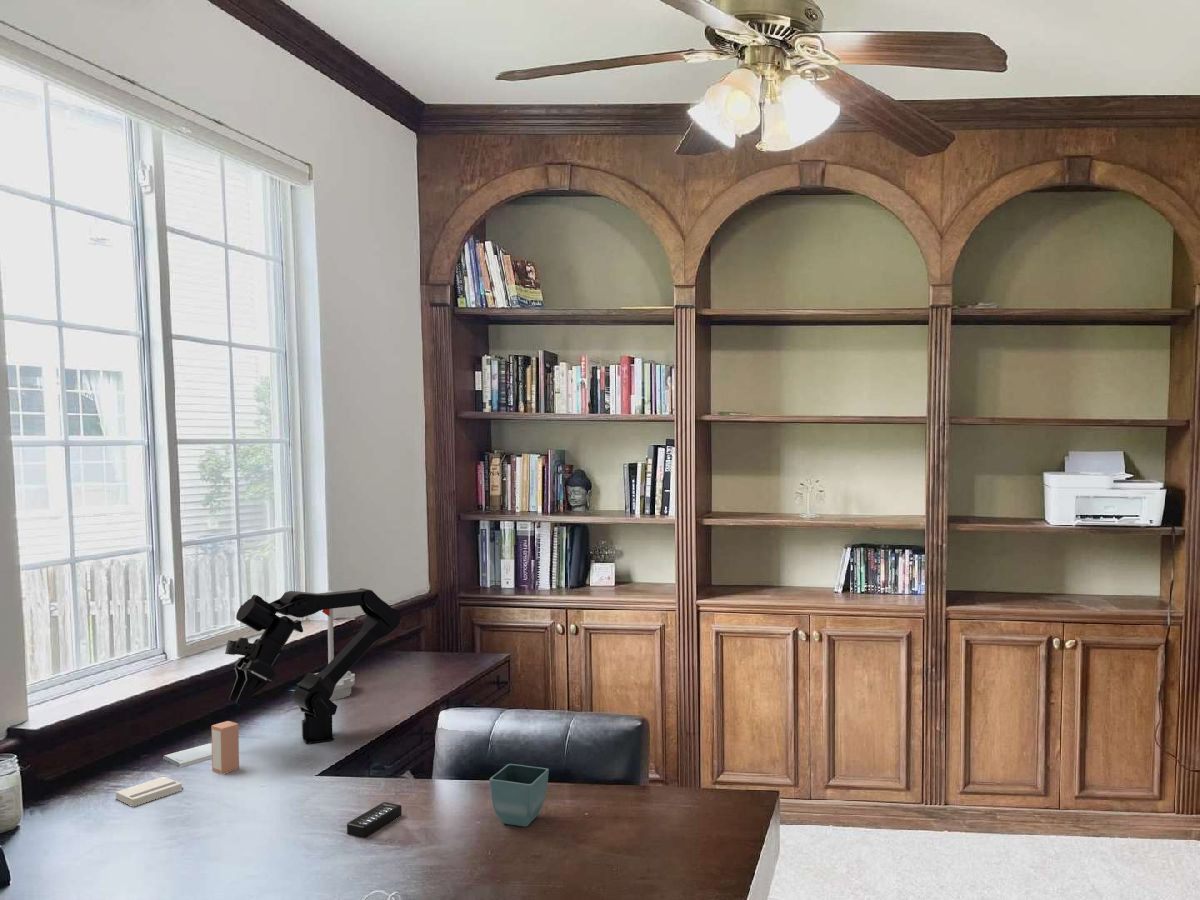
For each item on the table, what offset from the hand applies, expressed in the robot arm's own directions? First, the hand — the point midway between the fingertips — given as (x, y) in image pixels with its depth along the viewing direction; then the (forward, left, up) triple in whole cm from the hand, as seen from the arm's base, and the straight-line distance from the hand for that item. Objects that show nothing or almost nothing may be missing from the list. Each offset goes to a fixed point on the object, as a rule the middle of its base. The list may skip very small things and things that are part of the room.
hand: (234, 702), depth 202 cm
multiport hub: (-23, +48, -14) cm, 55 cm away
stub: (+2, +5, -13) cm, 14 cm away
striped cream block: (+17, +14, -13) cm, 25 cm away
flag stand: (-27, -45, -13) cm, 54 cm away
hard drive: (+8, -7, -14) cm, 18 cm away
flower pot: (-48, +59, -13) cm, 77 cm away
